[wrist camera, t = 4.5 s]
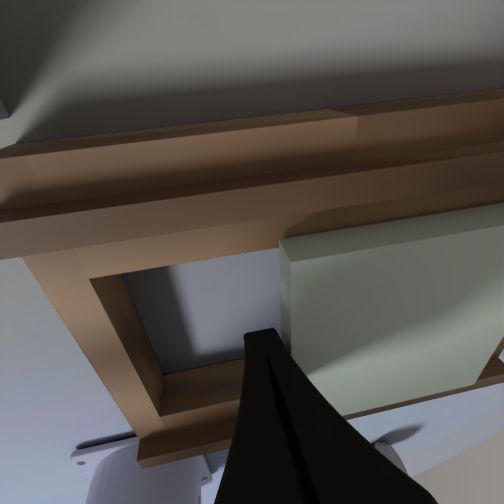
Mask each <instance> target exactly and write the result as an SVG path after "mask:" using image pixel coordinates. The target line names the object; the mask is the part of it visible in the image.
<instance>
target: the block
mask: <svg viewBox="0 0 504 504" xmlns="http://www.w3.org/2000/svg"><path fill="white" fill-rule="evenodd" d="M5 118H10V117H9V115H8V113H7V111H6V109H5V107H4V105H3V103H2V101H1V99H0V119H5Z"/></svg>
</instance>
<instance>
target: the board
mask: <svg viewBox="0 0 504 504" xmlns="http://www.w3.org/2000/svg"><path fill="white" fill-rule="evenodd" d="M499 203H504V88H501V89H492V90H483V91H475V92H466V93H457V94H448V95H440V96H431V97H422V98H413V99H405V100H396V101H387V102H378V103H370V104H361V105H352V106H343V107H335V108H326V109H317V110H308V111H300V112H291V113H282V114H273V115H265V116H256V117H247V118H238V119H230V120H221V121H212V122H203V123H195V124H186V125H177V126H168V127H160V128H151V129H142V130H133V131H125V132H116V133H107V134H98V135H90V136H81V137H72V138H63V139H55V140H46V141H37V142H28V143H20V144H13V145H10V146H7V147H5V148H2V149H0V260H2V259H9V258H15V257H22V258H23V260H24V261H25V263H26V265H27V266H28V268H29V269H30V271H31V272H32V274H33V275H34V277H35V278H36V280H37V282H38V283H39V285H40V286H41V288H42V289H43V291H44V292H45V294H46V295H47V297H48V299H49V300H50V302H51V303H52V305H53V306H54V308H55V309H56V311H57V313H58V314H59V316H60V317H61V319H62V320H63V322H64V323H65V325H66V326H67V328H68V330H69V331H70V333H71V334H72V336H73V337H74V339H75V340H76V342H77V343H78V345H79V347H80V348H81V350H82V351H83V353H84V354H85V356H86V357H87V359H88V361H89V362H90V364H91V365H92V367H93V368H94V370H95V371H96V373H97V374H98V376H99V378H100V379H101V381H102V382H103V384H104V385H105V387H106V388H107V390H108V392H109V393H110V395H111V396H112V398H113V399H114V401H115V402H116V404H117V405H118V407H119V409H120V410H121V412H122V413H123V415H124V416H125V418H126V419H127V421H128V422H129V424H130V426H131V427H132V429H133V430H134V432H135V433H136V435H137V436H138V438H139V447H138V454H137V460H136V461H137V463H138V464H139V465H140V467H141V468H142V469H145V468H149V467H154V466H158V465H162V464H166V463H170V462H174V461H178V460H183V459H187V458H191V457H195V456H199V455H203V454H208V453H212V452H216V451H220V450H224V449H228V448H230V446H231V442H232V438H233V434H234V429H235V425H236V420H237V415H238V410H239V404H240V398H241V391H242V385H243V375H244V364H245V358H244V359H239V360H234V361H229V362H224V363H219V364H215V365H210V366H205V367H200V368H195V369H191V370H186V371H181V372H176V373H171V374H166V375H164V374H163V372H162V370H161V367H160V365H159V363H158V360H157V358H156V355H155V353H154V351H153V348H152V346H151V344H150V341H149V339H148V337H147V334H146V332H145V330H144V327H143V325H142V323H141V320H140V318H139V316H138V313H137V311H136V309H135V306H134V304H133V302H132V299H131V297H130V295H129V292H128V290H127V288H126V285H125V283H124V281H123V278H122V276H121V273H127V272H133V271H139V270H145V269H151V268H157V267H163V266H169V265H175V264H181V263H187V262H193V261H199V260H205V259H211V258H217V257H223V256H229V255H235V254H241V253H247V252H253V251H259V250H265V249H271V248H277V247H279V239H285V238H291V237H297V236H303V235H309V234H316V233H322V232H328V231H334V230H340V229H346V228H352V227H358V226H365V225H371V224H377V223H383V222H389V221H395V220H401V219H407V218H413V217H420V216H426V215H432V214H438V213H444V212H450V211H456V210H462V209H468V208H475V207H481V206H487V205H493V204H499ZM503 349H504V336H503V338H502V340H501V341H500V343H499V344H498V346H497V348H496V349H495V351H494V353H493V354H492V356H491V357H490V359H489V361H488V362H487V364H486V366H485V367H484V369H483V370H482V372H481V374H480V375H479V377H478V379H477V380H476V382H475V383H474V385H470V386H466V387H461V388H457V389H453V390H449V391H445V392H440V393H436V394H432V395H428V396H424V397H420V398H415V399H411V400H407V401H403V402H399V403H394V404H390V405H386V406H382V407H378V408H373V409H369V410H365V411H361V412H357V413H352V414H348V415H344V416H342V417H343V418H344V419H345V420H349V419H353V418H357V417H361V416H365V415H370V414H374V413H378V412H382V411H386V410H390V409H395V408H399V407H403V406H407V405H411V404H415V403H420V402H424V401H428V400H432V399H436V398H440V397H444V396H449V395H453V394H457V393H461V392H465V391H469V390H474V389H478V388H482V387H486V386H490V385H494V384H498V383H503V382H504V363H503V362H502V361H501V360H500V359H499V358H498V357H499V355H500V353H501V352H502V350H503Z"/></svg>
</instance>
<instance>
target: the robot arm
mask: <svg viewBox="0 0 504 504" xmlns="http://www.w3.org/2000/svg"><path fill="white" fill-rule="evenodd" d="M244 342H245V364H244V375H243V385H242V391H241V398H240V404H239V410H238V415H237V420H236V425H235V429H234V434H233V438H232V442H231V446H230V450H229V454H228V458H227V462H226V465H225V469H224V472H223V476H222V479H221V482H220V485H219V489H218V492H217V495H216V498H215V502H214V504H438V503H437V502H436V500H435V499H434V497H433V496H432V495H431V494H430V493H429V492H428V491H427V490H426V489H424V488H423V487H422V486H421V485H420V484H418V483H417V482H416V481H414V480H413V479H412V478H411V477H409V476H408V475H407V474H406V473H404V472H403V471H402V470H401V469H400V468H398V467H397V466H396V465H395V464H394V463H392V462H391V461H390V460H389V459H388V458H387V457H385V456H384V455H383V454H382V453H381V452H380V451H378V450H377V449H376V448H375V447H374V446H373V445H372V444H371V443H370V442H369V441H367V440H366V439H365V438H364V437H363V436H362V435H361V434H360V433H359V432H358V431H357V430H356V429H354V428H353V427H352V426H351V425H350V424H349V423H348V422H347V421H346V420H345V419H344V418H343V417H342V416H341V415H340V414H339V413H338V412H337V410H336V409H335V408H334V407H333V406H332V405H331V404H330V403H329V402H328V401H327V400H326V399H325V397H324V396H323V395H322V394H321V393H320V392H319V391H318V389H317V388H316V387H315V386H314V385H313V383H312V382H311V381H310V380H309V379H308V377H307V376H306V375H305V373H304V372H303V371H302V369H301V368H300V367H299V365H298V364H297V363H296V361H295V360H294V359H293V357H292V356H291V354H290V353H289V351H288V350H287V348H286V347H285V345H284V344H283V342H282V340H281V339H280V337H279V335H278V333H277V331H276V329H274V328H269V329H264V330H259V331H254V332H249V333H246V334H245V335H244ZM138 447H139V438H138V436H137V437H133V438H129V439H124V440H120V441H115V442H111V443H107V444H102V445H98V446H93V447H89V448H85V449H80V450H76V451H74V452H73V453H72V454H71V457H70V461H71V463H72V464H74V465H75V466H76V467H77V468H78V469H79V470H80V471H81V472H82V473H83V474H84V475H85V476H86V477H87V478H88V479H89V480H90V481H91V484H90V488H89V492H88V496H87V500H86V503H85V504H201V486H205V485H209V484H211V483H212V475H211V472H210V470H209V467H208V465H207V462H206V460H205V457H204V455H199V456H195V457H191V458H187V459H183V460H178V461H174V462H170V463H166V464H162V465H158V466H154V467H149V468H145V469H142V468H141V467H140V465H139V464H138V463H137V461H136V460H137V454H138Z"/></svg>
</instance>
